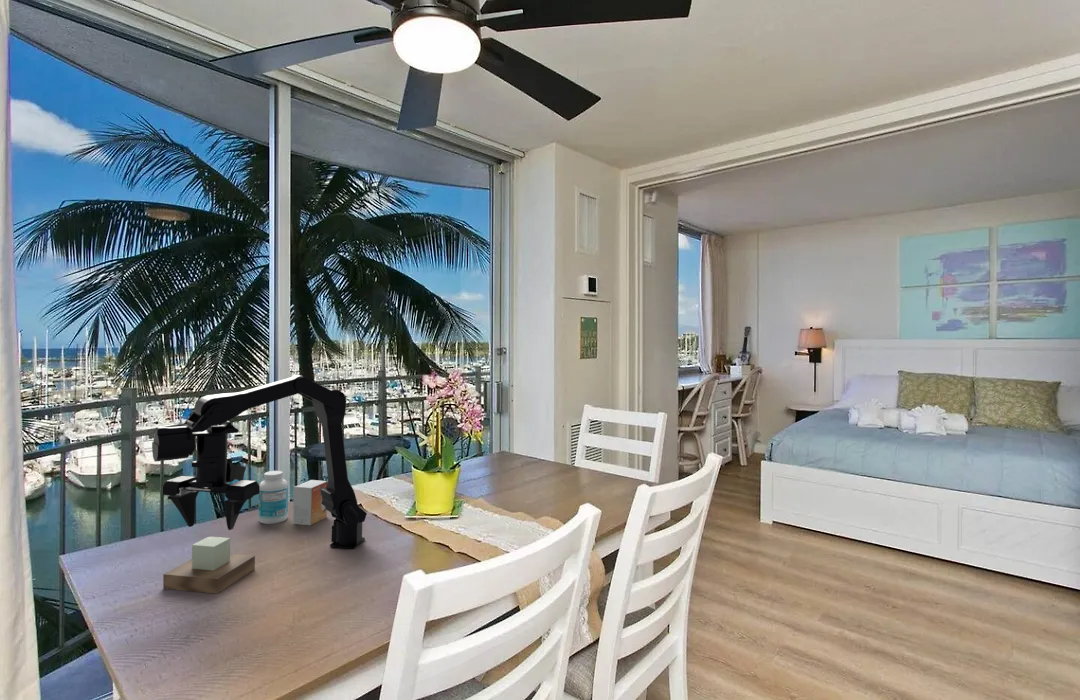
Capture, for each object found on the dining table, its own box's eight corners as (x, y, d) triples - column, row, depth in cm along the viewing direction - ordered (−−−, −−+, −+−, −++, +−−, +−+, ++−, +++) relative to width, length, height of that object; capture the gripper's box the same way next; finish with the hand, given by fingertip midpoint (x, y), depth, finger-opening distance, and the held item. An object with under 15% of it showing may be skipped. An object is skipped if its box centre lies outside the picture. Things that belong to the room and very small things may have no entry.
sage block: (230, 560, 121) (230, 538, 121) (213, 570, 116) (213, 546, 116) (209, 559, 122) (209, 536, 122) (191, 568, 117) (192, 544, 117)
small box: (310, 526, 152) (311, 488, 152) (292, 524, 153) (293, 486, 153) (327, 517, 160) (328, 480, 160) (310, 515, 161) (310, 479, 161)
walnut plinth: (254, 569, 124) (254, 555, 124) (217, 593, 113) (217, 579, 112) (205, 564, 126) (205, 551, 126) (163, 588, 114) (163, 574, 114)
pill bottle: (264, 516, 160) (265, 469, 159) (291, 516, 160) (292, 469, 160) (253, 525, 152) (254, 475, 152) (281, 525, 153) (282, 476, 152)
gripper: (275, 450, 125) (274, 518, 126) (199, 445, 128) (198, 513, 128) (243, 460, 114) (241, 536, 115) (160, 455, 117) (159, 529, 117)
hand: (210, 527), depth 119 cm, fingers open, 9 cm apart
